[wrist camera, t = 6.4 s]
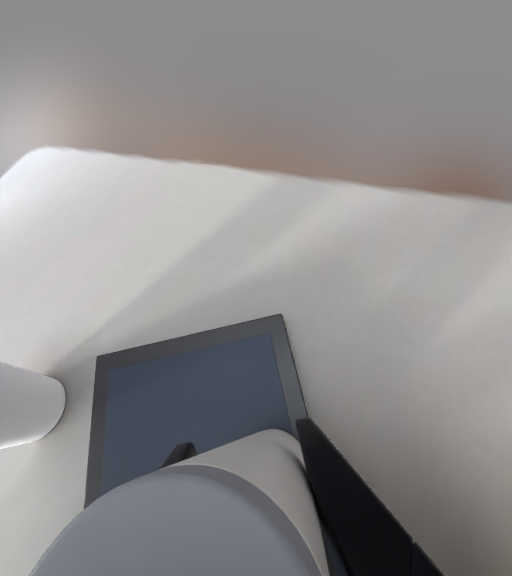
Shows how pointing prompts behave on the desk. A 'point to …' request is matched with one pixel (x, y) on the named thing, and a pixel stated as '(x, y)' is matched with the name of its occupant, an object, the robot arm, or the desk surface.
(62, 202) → the desk surface
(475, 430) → the desk surface
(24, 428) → the cup
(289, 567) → the lidded container
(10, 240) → the desk surface
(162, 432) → the tablet
